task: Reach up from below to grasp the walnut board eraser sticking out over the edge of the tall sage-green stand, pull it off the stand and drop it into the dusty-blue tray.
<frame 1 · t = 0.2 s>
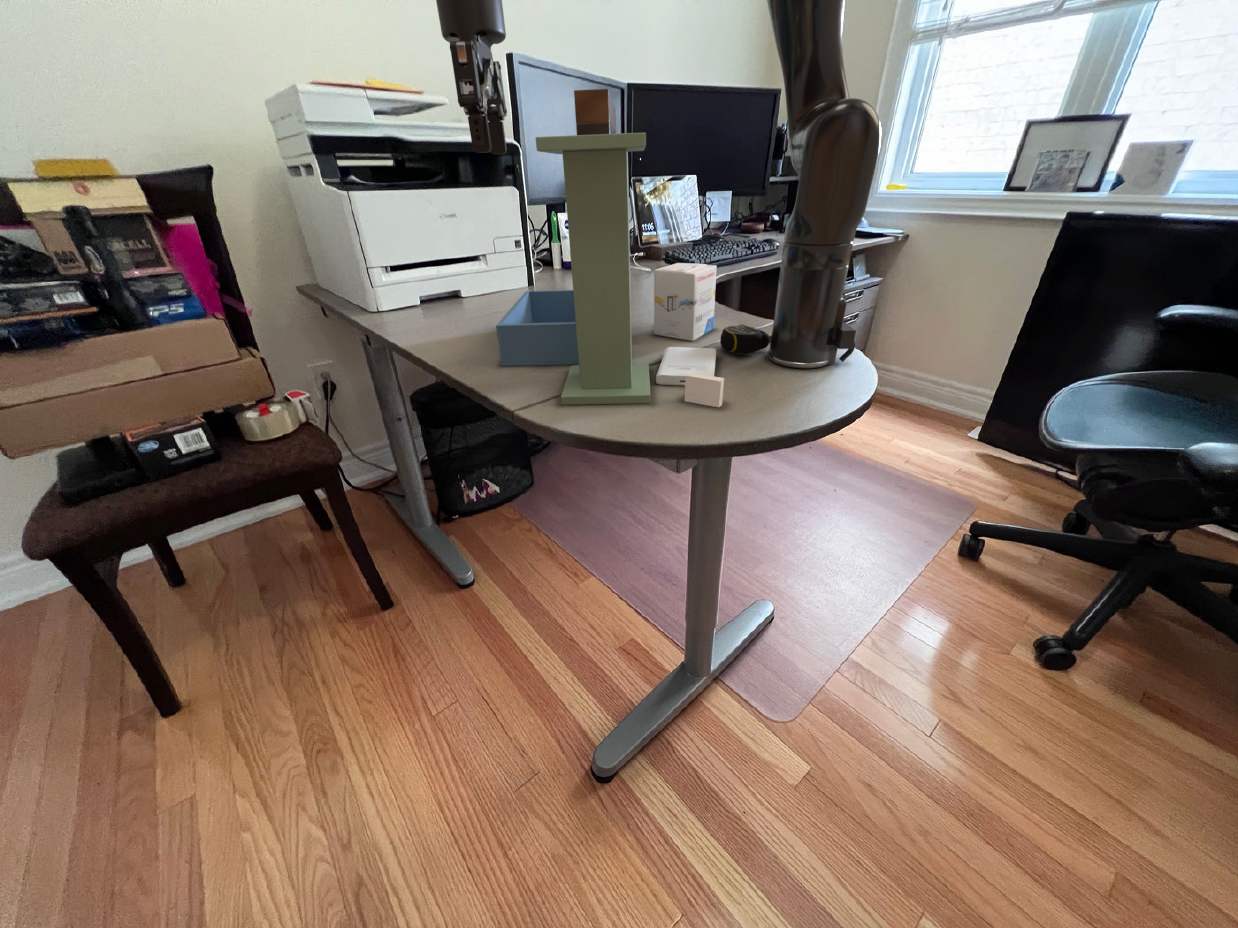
hand: (491, 153, 65), 29 cm above the table, tool pointing down, fingers open, 8 cm apart
stand: (607, 387, 71), on the table
tray: (554, 341, 90), on the table
eraser: (703, 403, 65), on the table
ink box: (683, 333, 93), on the table
hard drive: (687, 371, 76), on the table
board eraser: (599, 140, 60), point 30 cm above the table, touching stand
tape measure: (742, 351, 83), on the table
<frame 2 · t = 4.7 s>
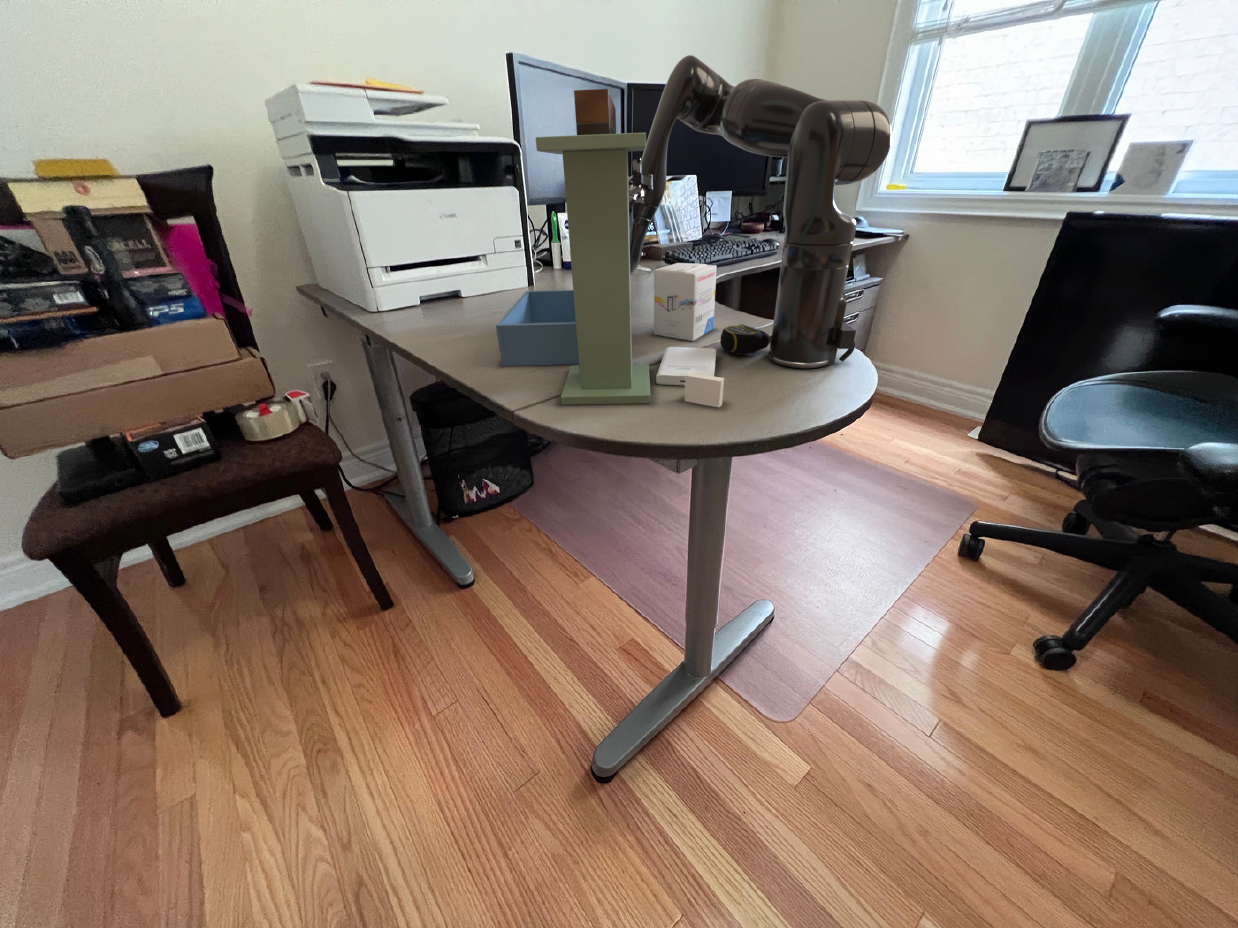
hand: (607, 166, 75), 27 cm above the table, tool pointing upward, fingers open, 8 cm apart
nothing on the table moved.
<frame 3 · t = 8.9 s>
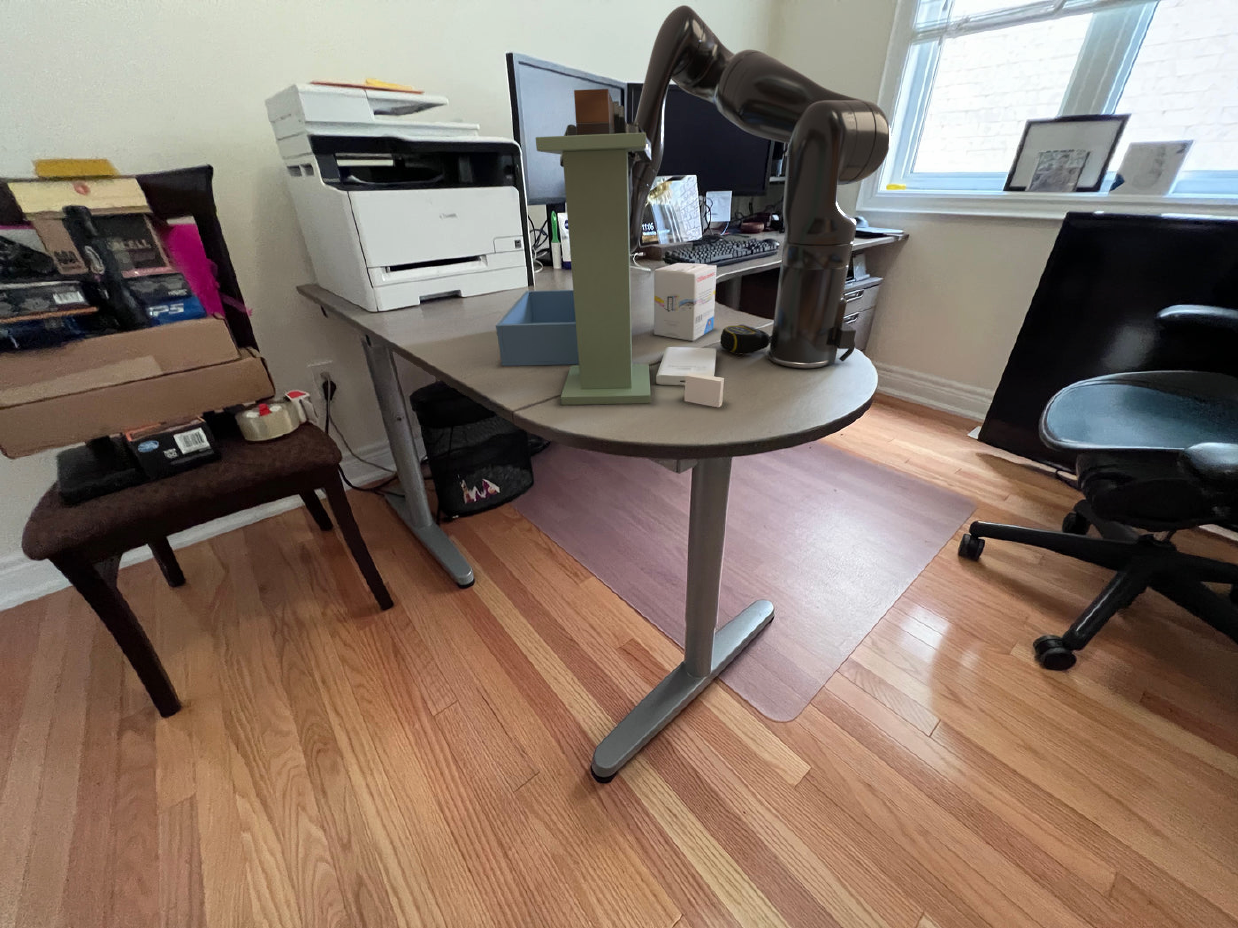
hand: (600, 109, 62), 33 cm above the table, tool pointing upward, fingers closed on board eraser, 3 cm apart
board eraser: (599, 140, 60), point 30 cm above the table, touching gripper, stand
everything else where it was.
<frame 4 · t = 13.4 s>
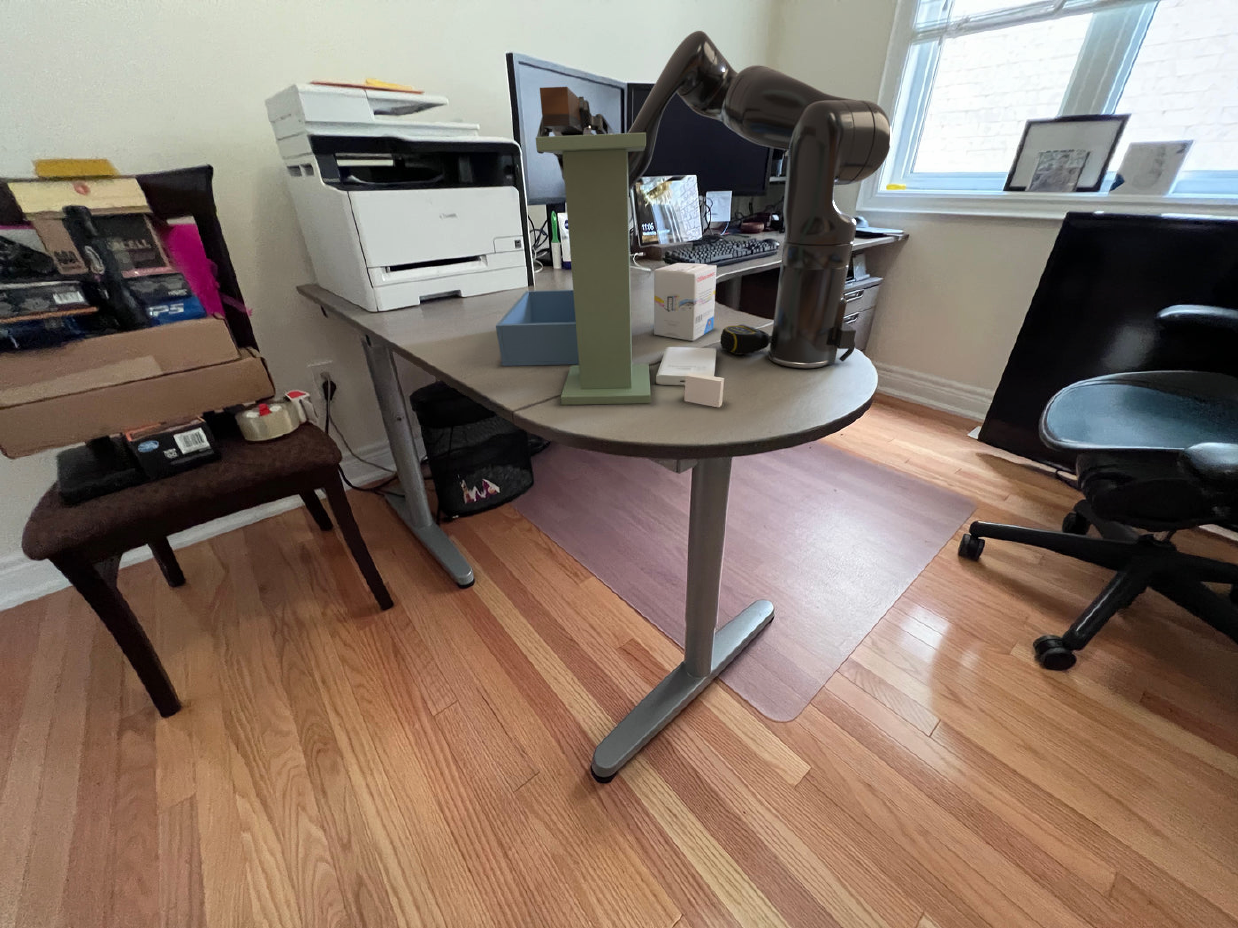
hand: (567, 103, 73), 35 cm above the table, tool pointing upward, fingers closed on board eraser, 3 cm apart
board eraser: (566, 130, 72), point 32 cm above the table, touching gripper
everything else where it was.
when the fingers open (22 cm above the table, at t = 17.9 s): board eraser drops 18 cm, resting on tray.
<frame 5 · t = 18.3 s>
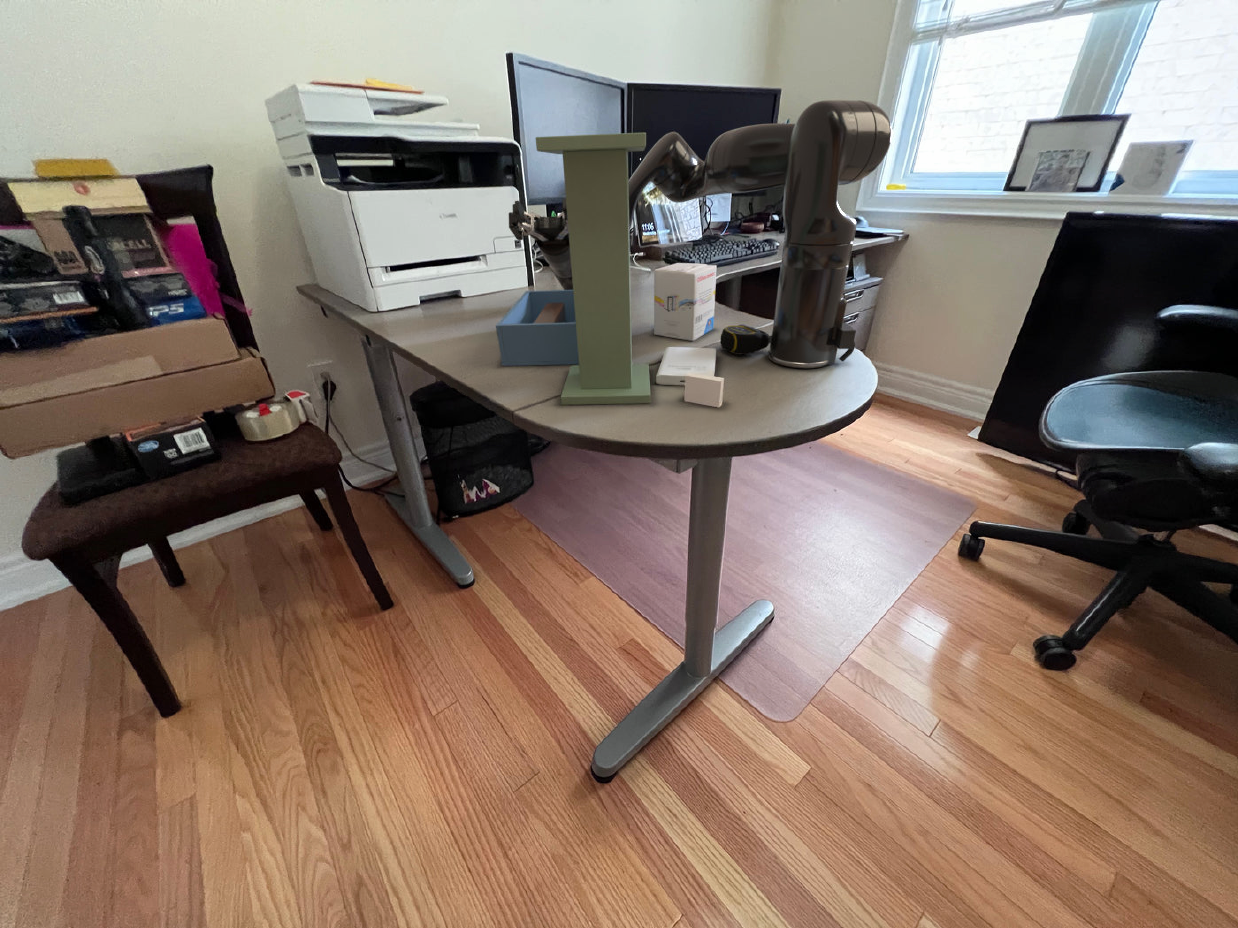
hand: (540, 205, 82), 22 cm above the table, tool pointing upward, fingers open, 7 cm apart
board eraser: (549, 338, 90), point 1 cm above the table, touching tray
everything else where it was.
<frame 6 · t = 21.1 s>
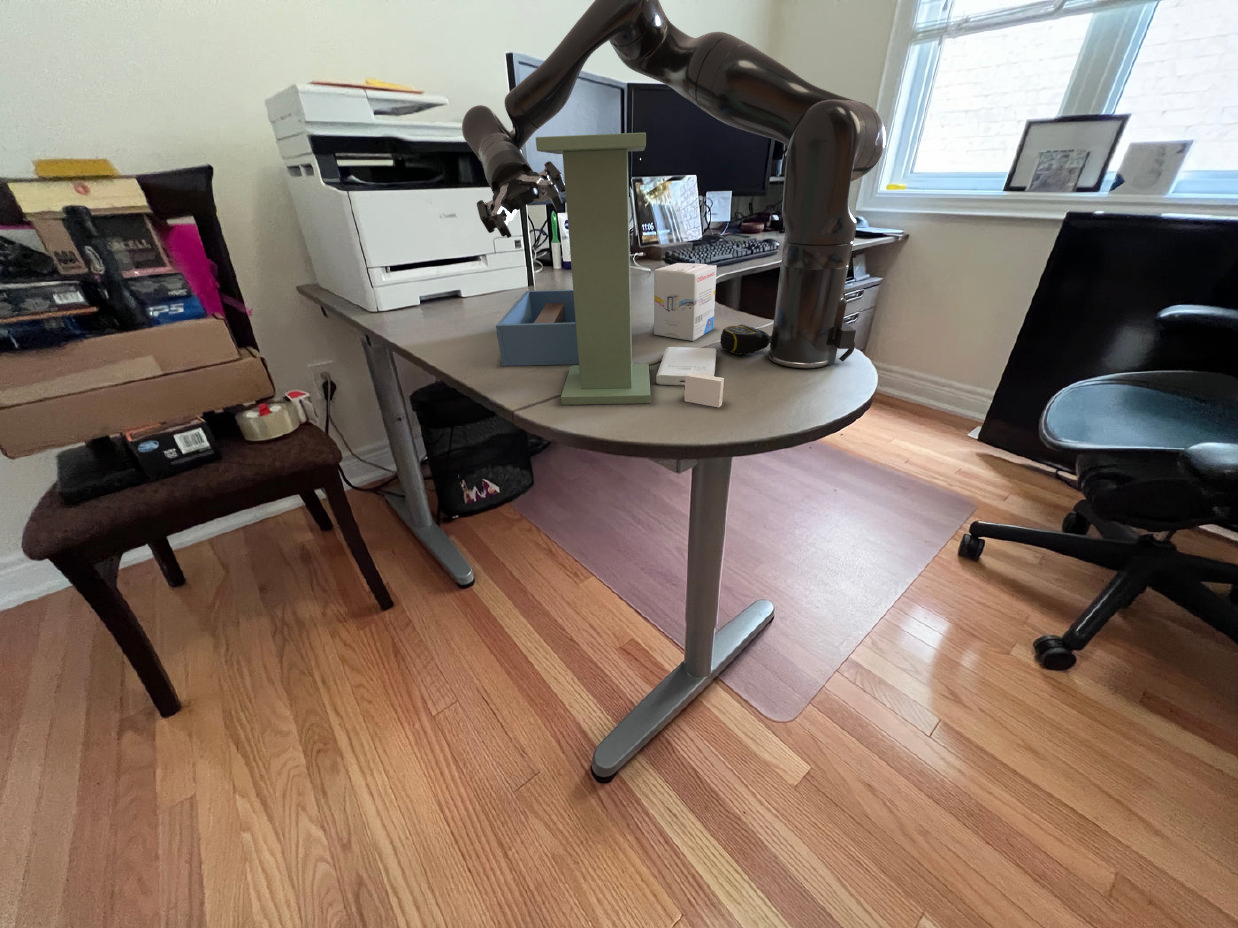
hand: (531, 218, 74), 21 cm above the table, tool tilted 70°, fingers open, 8 cm apart
nothing on the table moved.
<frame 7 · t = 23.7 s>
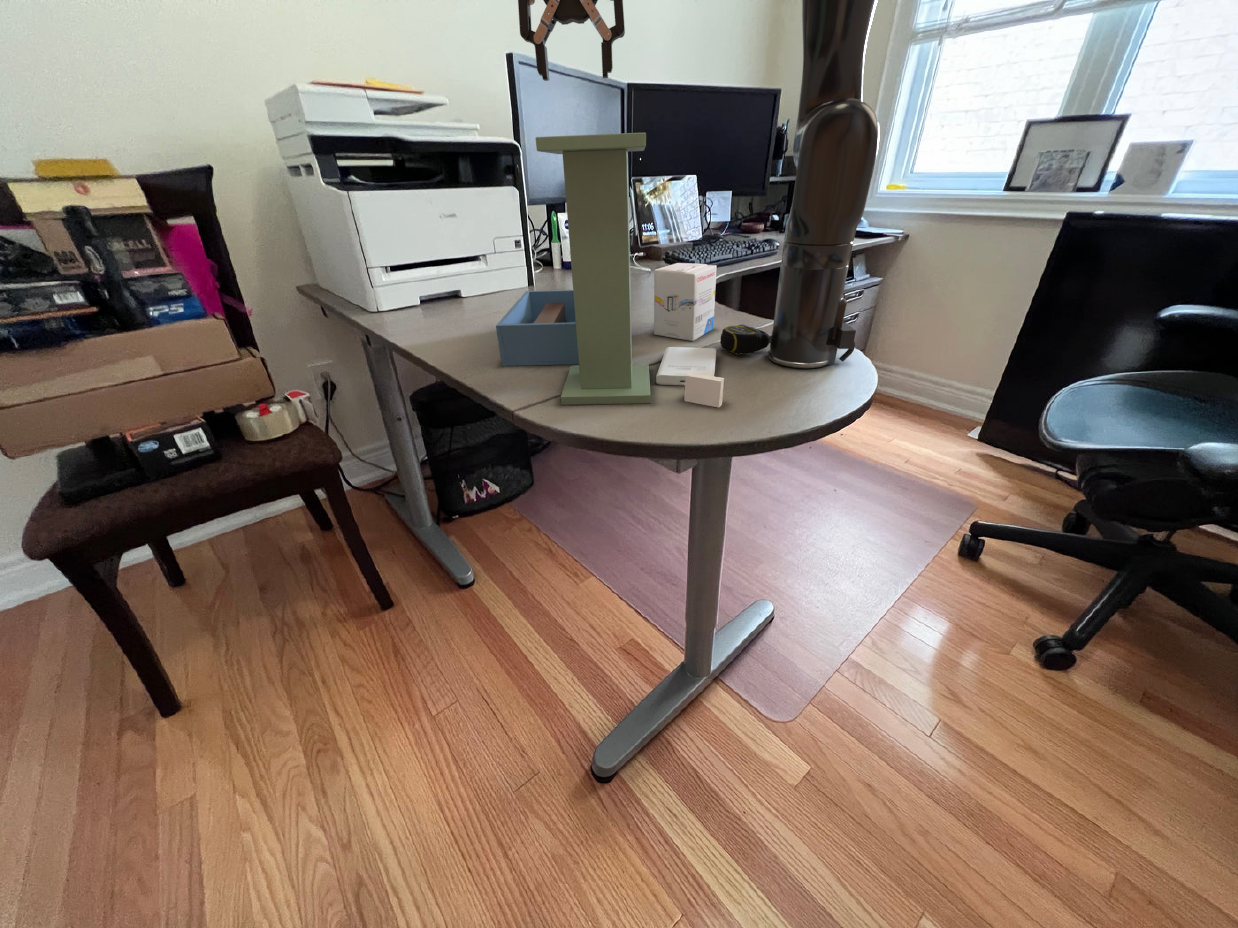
hand: (575, 79, 70), 38 cm above the table, tool pointing down, fingers open, 8 cm apart
nothing on the table moved.
at the end: board eraser inside the target area in the tray (0.9 cm from its centre), point 0.6 cm above the tray's base; board eraser touching tray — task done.
